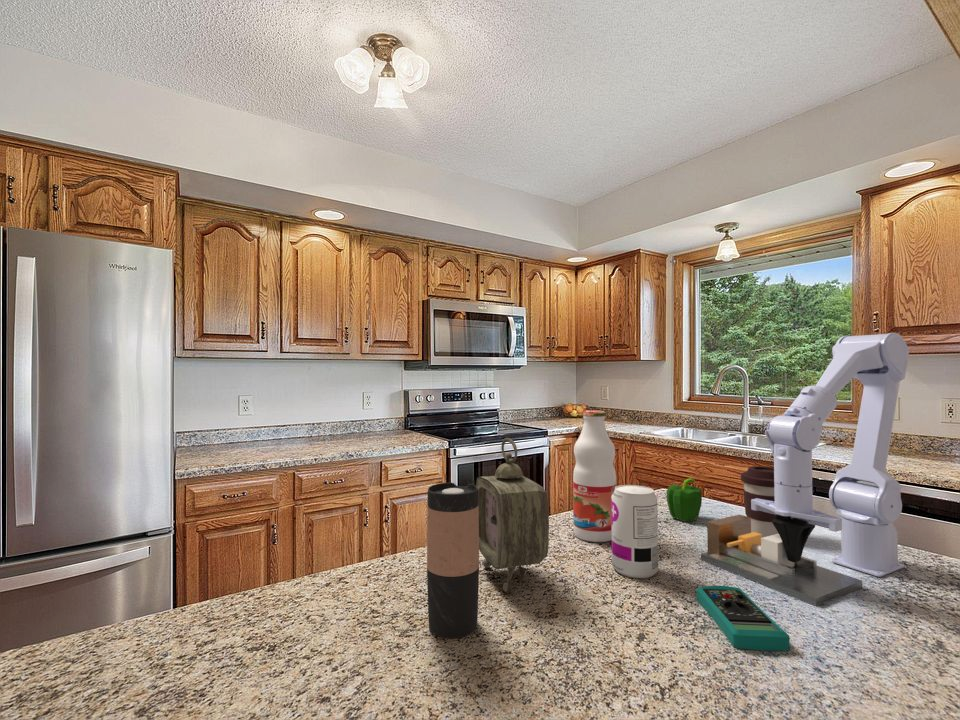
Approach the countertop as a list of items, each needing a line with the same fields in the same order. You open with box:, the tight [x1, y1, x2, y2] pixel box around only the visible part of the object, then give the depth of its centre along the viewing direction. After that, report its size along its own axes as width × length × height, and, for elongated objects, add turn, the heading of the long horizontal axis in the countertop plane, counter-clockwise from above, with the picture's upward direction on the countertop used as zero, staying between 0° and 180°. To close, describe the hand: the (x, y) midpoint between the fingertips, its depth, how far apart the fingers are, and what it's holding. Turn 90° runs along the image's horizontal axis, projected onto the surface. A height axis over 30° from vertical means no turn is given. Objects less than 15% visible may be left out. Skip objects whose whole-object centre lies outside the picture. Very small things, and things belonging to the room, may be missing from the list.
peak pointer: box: [727, 532, 762, 553], centre depth 93 cm, size 2×9×4 cm, turn 117°
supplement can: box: [611, 484, 659, 579], centre depth 91 cm, size 8×8×15 cm
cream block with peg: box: [751, 534, 794, 567], centre depth 90 cm, size 6×5×5 cm
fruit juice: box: [572, 409, 617, 543], centre depth 110 cm, size 9×9×28 cm
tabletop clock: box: [475, 437, 550, 593], centre depth 88 cm, size 14×9×25 cm, turn 18°
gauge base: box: [700, 514, 863, 607], centre depth 89 cm, size 21×14×7 cm, turn 28°
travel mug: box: [426, 482, 480, 639], centre depth 71 cm, size 8×8×20 cm
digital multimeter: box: [696, 585, 791, 652], centre depth 72 cm, size 7×15×3 cm, turn 176°
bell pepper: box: [666, 477, 703, 522], centre depth 122 cm, size 8×8×10 cm
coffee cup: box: [740, 465, 779, 538], centre depth 109 cm, size 10×10×15 cm
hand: (794, 560), depth 87 cm, fingers closed
